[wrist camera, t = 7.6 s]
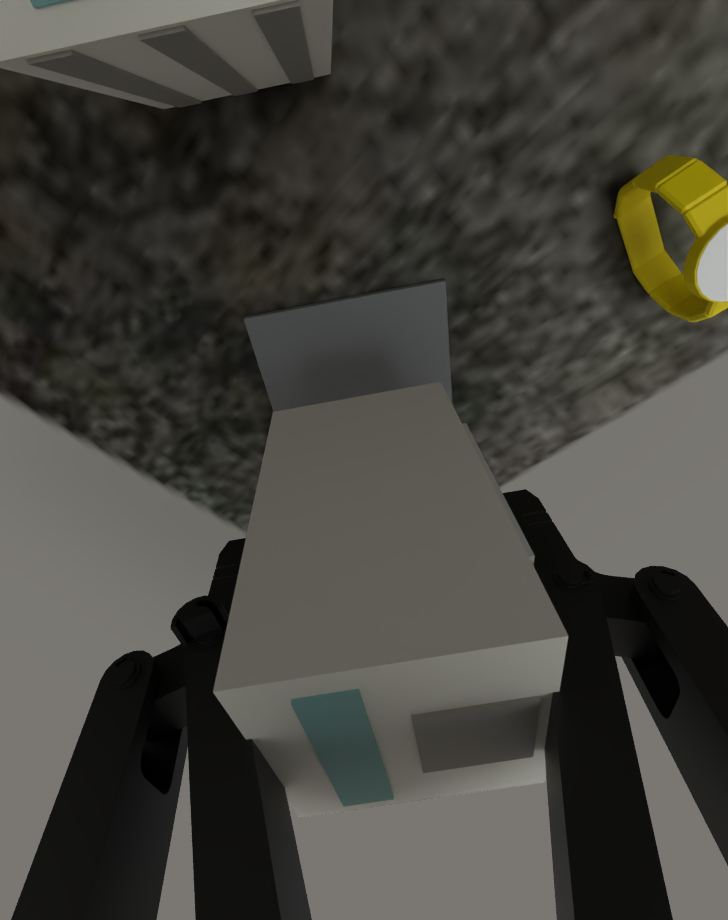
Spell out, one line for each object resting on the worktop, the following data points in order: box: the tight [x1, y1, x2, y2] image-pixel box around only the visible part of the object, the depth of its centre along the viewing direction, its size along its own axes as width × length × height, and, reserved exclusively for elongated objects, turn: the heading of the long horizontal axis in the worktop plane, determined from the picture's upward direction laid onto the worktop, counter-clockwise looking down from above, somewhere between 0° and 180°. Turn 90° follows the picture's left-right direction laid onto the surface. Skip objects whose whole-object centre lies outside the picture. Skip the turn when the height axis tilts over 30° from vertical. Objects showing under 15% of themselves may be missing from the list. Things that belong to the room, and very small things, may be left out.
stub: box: [213, 382, 568, 818], centre depth 13 cm, size 6×6×10 cm
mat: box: [244, 279, 452, 412], centre depth 22 cm, size 9×9×1 cm
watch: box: [613, 155, 728, 322], centre depth 17 cm, size 6×3×6 cm, turn 35°
